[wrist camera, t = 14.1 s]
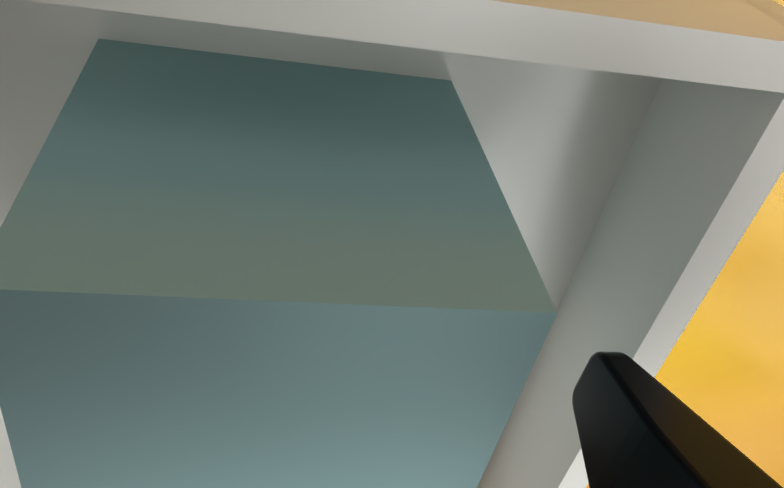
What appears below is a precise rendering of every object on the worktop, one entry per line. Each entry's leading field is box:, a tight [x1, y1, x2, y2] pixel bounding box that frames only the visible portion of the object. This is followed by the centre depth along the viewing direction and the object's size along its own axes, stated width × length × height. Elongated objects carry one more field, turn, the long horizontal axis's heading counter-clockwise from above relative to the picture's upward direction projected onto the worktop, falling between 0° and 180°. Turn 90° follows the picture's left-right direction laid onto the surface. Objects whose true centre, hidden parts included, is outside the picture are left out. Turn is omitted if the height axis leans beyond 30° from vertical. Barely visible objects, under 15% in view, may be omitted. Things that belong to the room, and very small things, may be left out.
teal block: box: [0, 39, 557, 488], centre depth 9 cm, size 5×5×5 cm
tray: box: [0, 0, 784, 488], centre depth 13 cm, size 18×13×4 cm
